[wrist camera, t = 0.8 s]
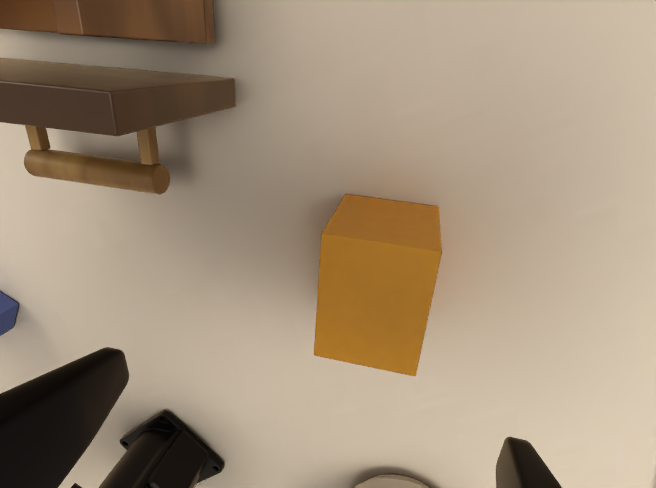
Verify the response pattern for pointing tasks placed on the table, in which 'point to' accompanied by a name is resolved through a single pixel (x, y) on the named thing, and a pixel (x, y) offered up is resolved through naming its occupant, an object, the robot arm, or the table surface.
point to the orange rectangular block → (377, 282)
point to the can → (391, 482)
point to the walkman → (7, 313)
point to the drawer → (106, 87)
